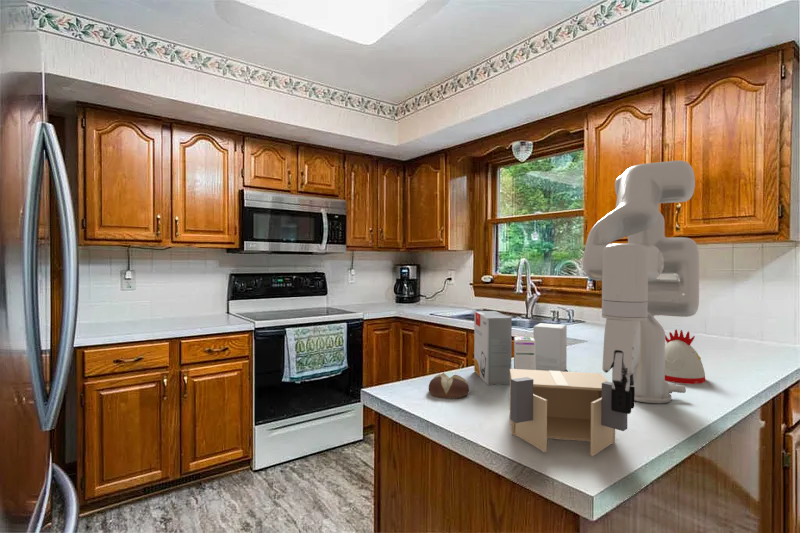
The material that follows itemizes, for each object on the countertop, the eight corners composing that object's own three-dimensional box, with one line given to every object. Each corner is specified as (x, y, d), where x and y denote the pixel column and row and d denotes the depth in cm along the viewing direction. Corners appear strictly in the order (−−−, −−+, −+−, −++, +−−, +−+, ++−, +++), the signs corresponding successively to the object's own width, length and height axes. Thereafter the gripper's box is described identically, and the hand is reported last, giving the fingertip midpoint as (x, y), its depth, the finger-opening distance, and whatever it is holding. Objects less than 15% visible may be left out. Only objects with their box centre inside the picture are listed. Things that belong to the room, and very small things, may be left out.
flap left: (546, 451, 83) (547, 383, 82) (527, 455, 81) (527, 386, 81) (517, 434, 91) (517, 372, 90) (499, 437, 89) (499, 374, 89)
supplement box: (567, 369, 147) (567, 324, 146) (561, 375, 139) (561, 328, 139) (539, 365, 152) (540, 322, 151) (532, 371, 144) (532, 325, 144)
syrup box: (536, 392, 121) (536, 340, 120) (514, 391, 122) (514, 339, 121) (534, 387, 126) (534, 336, 126) (513, 385, 127) (513, 336, 127)
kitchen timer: (697, 386, 127) (697, 335, 127) (645, 377, 137) (646, 329, 137) (710, 378, 136) (711, 330, 136) (661, 369, 146) (662, 325, 146)
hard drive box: (473, 371, 143) (473, 310, 143) (496, 371, 144) (496, 310, 143) (486, 385, 127) (487, 317, 127) (512, 385, 128) (512, 317, 128)
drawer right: (610, 441, 87) (611, 377, 87) (634, 449, 84) (635, 382, 83) (590, 455, 81) (591, 385, 81) (615, 463, 78) (616, 391, 78)
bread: (424, 397, 117) (424, 378, 117) (435, 385, 128) (435, 368, 128) (465, 402, 113) (465, 383, 113) (473, 389, 124) (473, 372, 124)
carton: (600, 421, 99) (600, 373, 99) (614, 443, 88) (615, 388, 87) (509, 415, 103) (509, 368, 103) (511, 435, 92) (512, 382, 91)
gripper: (610, 305, 90) (609, 394, 90) (592, 312, 77) (590, 417, 77) (653, 308, 85) (651, 402, 85) (640, 316, 72) (639, 427, 72)
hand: (622, 408), depth 81 cm, fingers open, 2 cm apart
